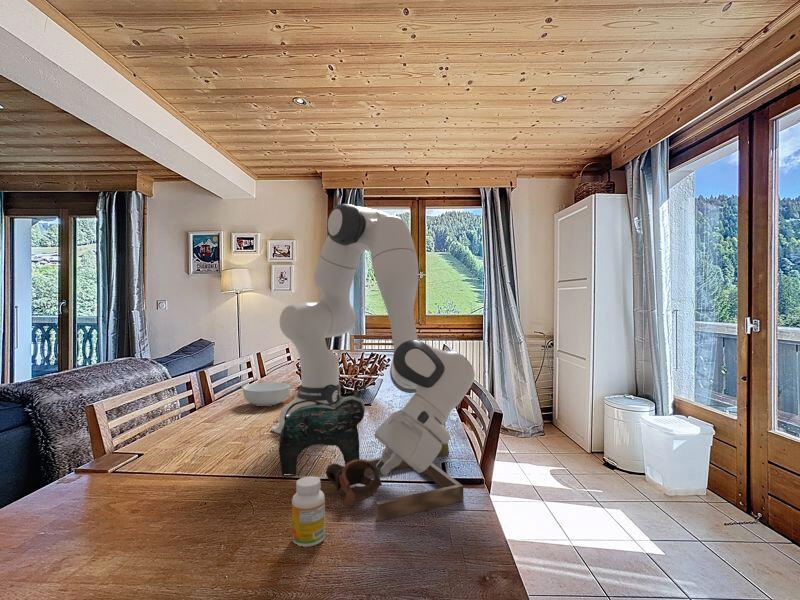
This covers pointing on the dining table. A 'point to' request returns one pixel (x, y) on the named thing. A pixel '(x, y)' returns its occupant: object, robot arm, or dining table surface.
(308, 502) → the supplement bottle
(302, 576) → the dining table surface
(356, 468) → the pottery mug
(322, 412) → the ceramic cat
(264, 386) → the cereal bowl
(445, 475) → the wooden open frame
